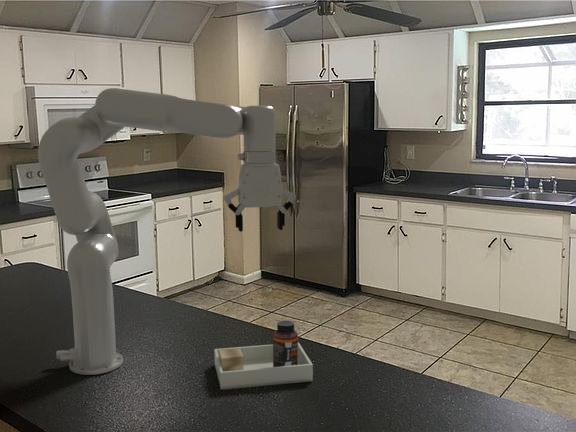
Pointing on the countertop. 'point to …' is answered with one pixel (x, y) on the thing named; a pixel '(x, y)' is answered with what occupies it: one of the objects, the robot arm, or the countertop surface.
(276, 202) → the robot arm
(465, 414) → the countertop surface
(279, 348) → the supplement bottle
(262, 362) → the tray
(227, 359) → the maple cube
